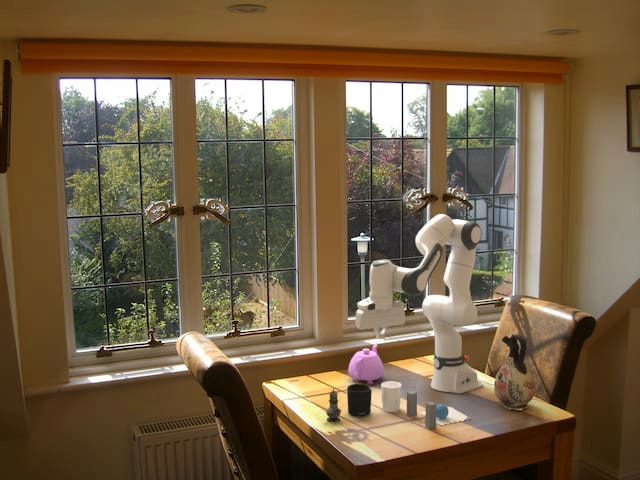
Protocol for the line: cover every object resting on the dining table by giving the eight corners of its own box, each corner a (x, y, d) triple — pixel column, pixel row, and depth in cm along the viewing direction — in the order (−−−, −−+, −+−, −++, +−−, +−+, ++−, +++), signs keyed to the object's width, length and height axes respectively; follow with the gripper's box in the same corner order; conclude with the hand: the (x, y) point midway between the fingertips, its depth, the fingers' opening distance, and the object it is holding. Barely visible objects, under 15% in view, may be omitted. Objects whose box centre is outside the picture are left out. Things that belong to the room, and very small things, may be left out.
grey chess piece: (325, 417, 263) (325, 386, 261) (340, 416, 263) (340, 386, 262) (326, 423, 257) (326, 391, 255) (342, 422, 257) (342, 391, 256)
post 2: (431, 425, 255) (432, 401, 253) (436, 427, 252) (436, 403, 251) (425, 426, 253) (425, 402, 252) (429, 429, 251) (429, 405, 250)
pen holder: (343, 415, 264) (343, 390, 263) (352, 407, 273) (352, 382, 272) (366, 419, 261) (366, 393, 259) (374, 410, 269) (375, 385, 268)
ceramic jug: (485, 402, 277) (487, 329, 273) (517, 397, 283) (519, 326, 279) (512, 417, 261) (514, 340, 257) (545, 412, 267) (548, 336, 263)
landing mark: (449, 407, 272) (449, 406, 272) (471, 419, 260) (471, 418, 260) (419, 412, 266) (419, 412, 266) (440, 425, 254) (440, 425, 254)
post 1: (412, 413, 266) (413, 390, 265) (416, 415, 264) (417, 392, 262) (406, 414, 265) (406, 391, 264) (410, 416, 262) (410, 394, 261)
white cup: (388, 414, 265) (388, 389, 264) (377, 407, 272) (377, 383, 271) (405, 410, 269) (405, 385, 267) (393, 404, 276) (394, 380, 274)
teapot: (361, 369, 320) (361, 340, 318) (392, 374, 313) (392, 344, 311) (340, 383, 300) (340, 352, 299) (373, 389, 293) (373, 357, 291)
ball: (428, 412, 262) (439, 417, 264) (436, 418, 257) (447, 423, 259) (435, 399, 262) (445, 404, 264) (443, 405, 257) (453, 409, 259)
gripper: (400, 298, 270) (399, 333, 272) (353, 303, 261) (353, 339, 263) (408, 301, 264) (408, 337, 266) (361, 306, 256) (361, 343, 257)
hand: (380, 338), depth 264 cm, fingers closed
